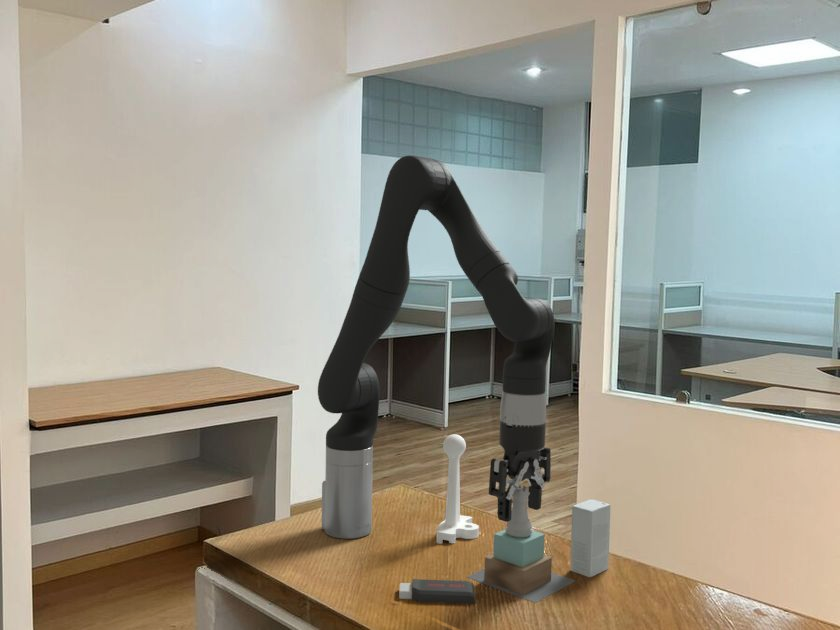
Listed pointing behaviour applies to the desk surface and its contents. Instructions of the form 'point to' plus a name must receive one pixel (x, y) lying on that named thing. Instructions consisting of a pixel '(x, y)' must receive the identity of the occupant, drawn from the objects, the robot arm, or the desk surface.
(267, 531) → the desk surface
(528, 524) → the rook chess piece
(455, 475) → the white ball-topped post
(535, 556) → the teal block
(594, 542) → the skincare box
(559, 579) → the mat
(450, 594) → the usb drive
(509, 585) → the walnut block
